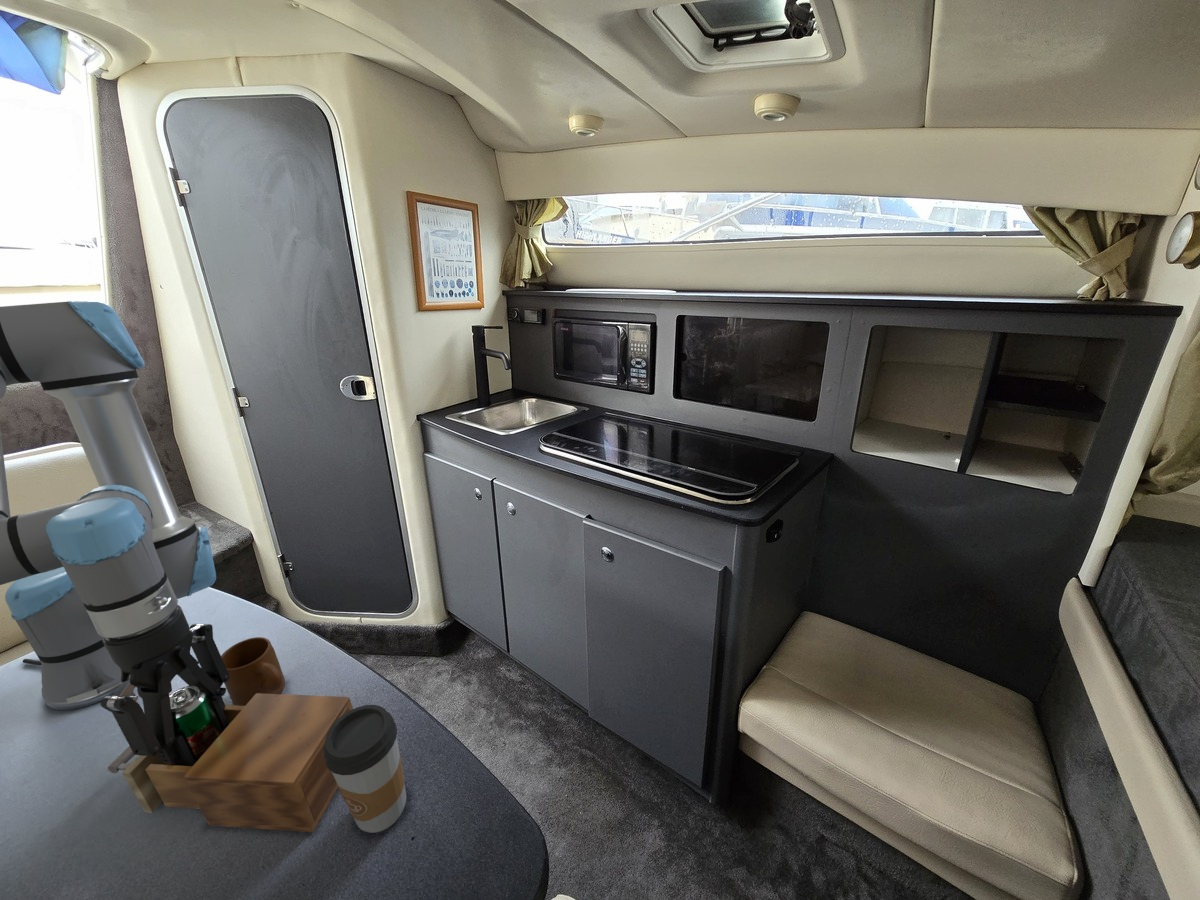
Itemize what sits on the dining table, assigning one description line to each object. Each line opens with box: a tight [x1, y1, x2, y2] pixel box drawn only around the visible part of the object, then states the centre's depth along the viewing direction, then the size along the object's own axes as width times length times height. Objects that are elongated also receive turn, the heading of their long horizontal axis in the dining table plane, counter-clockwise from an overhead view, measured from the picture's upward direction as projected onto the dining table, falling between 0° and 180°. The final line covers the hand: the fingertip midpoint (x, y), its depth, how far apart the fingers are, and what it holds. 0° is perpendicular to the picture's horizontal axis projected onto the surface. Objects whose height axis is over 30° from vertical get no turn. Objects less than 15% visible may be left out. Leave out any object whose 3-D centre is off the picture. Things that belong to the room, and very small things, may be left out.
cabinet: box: [184, 693, 354, 833], centre depth 69 cm, size 15×13×10 cm
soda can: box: [169, 685, 223, 762], centre depth 68 cm, size 5×5×12 cm
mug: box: [220, 636, 286, 706], centre depth 82 cm, size 12×8×9 cm, turn 63°
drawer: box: [106, 704, 245, 814], centre depth 70 cm, size 19×11×8 cm, turn 86°
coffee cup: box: [324, 704, 407, 834], centre depth 64 cm, size 8×8×15 cm
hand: (204, 751), depth 69 cm, fingers closed on soda can, 5 cm apart
